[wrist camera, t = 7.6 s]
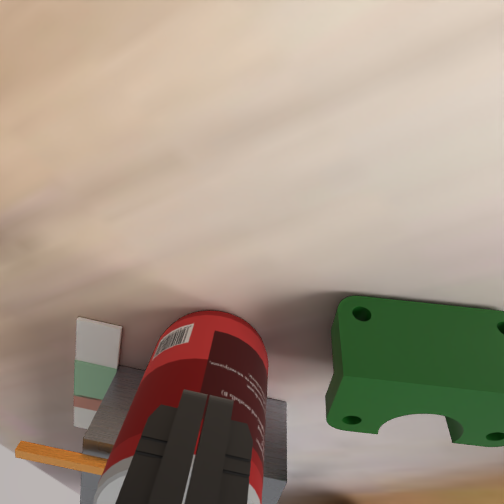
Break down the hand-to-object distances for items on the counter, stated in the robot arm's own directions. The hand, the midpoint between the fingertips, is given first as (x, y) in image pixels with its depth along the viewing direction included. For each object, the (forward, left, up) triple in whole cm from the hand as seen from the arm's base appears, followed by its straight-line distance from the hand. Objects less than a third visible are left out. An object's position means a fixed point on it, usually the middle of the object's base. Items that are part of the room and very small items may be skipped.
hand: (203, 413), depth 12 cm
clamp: (-12, +5, -13) cm, 19 cm away
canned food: (0, +10, -13) cm, 16 cm away
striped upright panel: (+8, +15, -13) cm, 21 cm away
